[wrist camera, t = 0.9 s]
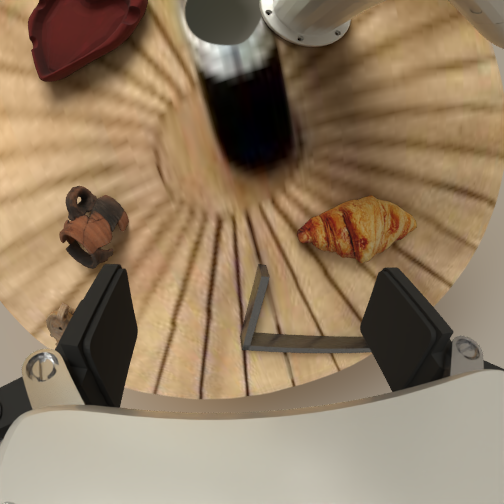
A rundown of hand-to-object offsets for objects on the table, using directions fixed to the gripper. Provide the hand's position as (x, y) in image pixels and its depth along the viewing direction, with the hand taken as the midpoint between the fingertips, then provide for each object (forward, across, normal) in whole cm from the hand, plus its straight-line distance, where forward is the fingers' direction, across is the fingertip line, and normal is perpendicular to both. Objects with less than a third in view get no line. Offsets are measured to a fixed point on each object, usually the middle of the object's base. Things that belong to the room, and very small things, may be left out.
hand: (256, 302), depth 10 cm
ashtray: (+31, +22, -20) cm, 43 cm away
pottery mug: (+31, +20, +8) cm, 37 cm away
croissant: (+31, -20, +9) cm, 38 cm away
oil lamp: (+31, +31, +29) cm, 52 cm away
